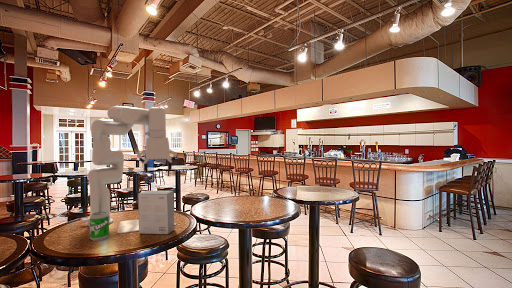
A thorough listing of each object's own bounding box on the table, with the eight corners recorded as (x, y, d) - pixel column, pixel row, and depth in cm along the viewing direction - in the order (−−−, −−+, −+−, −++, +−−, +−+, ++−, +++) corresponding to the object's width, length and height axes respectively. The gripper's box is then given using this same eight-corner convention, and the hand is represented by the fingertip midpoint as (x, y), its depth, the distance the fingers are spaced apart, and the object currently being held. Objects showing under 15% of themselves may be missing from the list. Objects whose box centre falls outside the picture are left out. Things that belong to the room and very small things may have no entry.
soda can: (92, 237, 118) (92, 212, 118) (110, 235, 121) (110, 210, 121) (88, 242, 111) (87, 216, 111) (107, 240, 114) (106, 214, 114)
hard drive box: (175, 228, 127) (174, 190, 127) (168, 234, 120) (167, 194, 119) (146, 228, 129) (145, 190, 128) (138, 233, 121) (137, 193, 120)
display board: (117, 234, 122) (117, 233, 122) (120, 222, 142) (120, 221, 142) (176, 225, 134) (176, 224, 134) (171, 215, 154) (171, 214, 154)
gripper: (136, 134, 106) (137, 173, 106) (177, 134, 114) (178, 171, 113) (136, 135, 113) (137, 172, 113) (175, 135, 120) (176, 170, 120)
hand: (158, 171), depth 113 cm, fingers open, 9 cm apart
